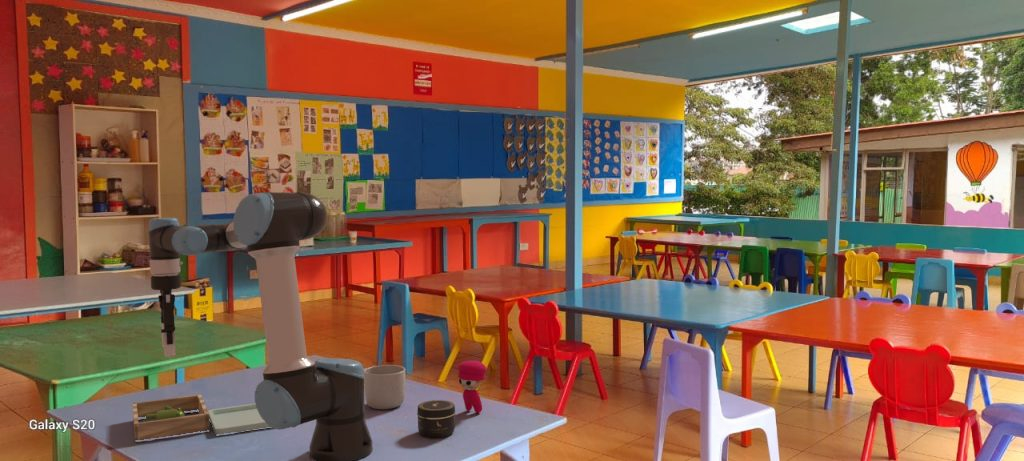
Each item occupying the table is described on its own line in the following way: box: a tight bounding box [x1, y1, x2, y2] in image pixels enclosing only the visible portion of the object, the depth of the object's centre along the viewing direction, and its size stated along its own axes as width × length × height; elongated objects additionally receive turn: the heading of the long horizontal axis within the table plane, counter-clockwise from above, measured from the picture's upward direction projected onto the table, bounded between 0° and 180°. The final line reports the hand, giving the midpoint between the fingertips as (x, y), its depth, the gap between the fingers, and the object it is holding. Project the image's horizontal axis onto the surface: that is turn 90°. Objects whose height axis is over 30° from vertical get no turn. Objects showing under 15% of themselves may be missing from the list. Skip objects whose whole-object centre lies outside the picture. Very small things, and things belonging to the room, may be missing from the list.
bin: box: [132, 393, 211, 441], centre depth 209 cm, size 22×18×5 cm
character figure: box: [144, 405, 186, 422], centre depth 208 cm, size 12×5×12 cm
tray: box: [207, 402, 270, 435], centre depth 213 cm, size 20×20×2 cm
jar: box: [416, 399, 456, 439], centre depth 200 cm, size 10×10×8 cm
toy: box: [457, 359, 488, 414], centre depth 218 cm, size 8×8×15 cm
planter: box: [363, 364, 406, 410], centre depth 226 cm, size 12×12×11 cm
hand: (168, 351), depth 208 cm, fingers open, 13 cm apart
